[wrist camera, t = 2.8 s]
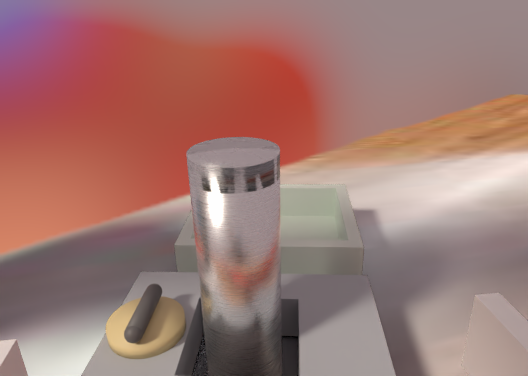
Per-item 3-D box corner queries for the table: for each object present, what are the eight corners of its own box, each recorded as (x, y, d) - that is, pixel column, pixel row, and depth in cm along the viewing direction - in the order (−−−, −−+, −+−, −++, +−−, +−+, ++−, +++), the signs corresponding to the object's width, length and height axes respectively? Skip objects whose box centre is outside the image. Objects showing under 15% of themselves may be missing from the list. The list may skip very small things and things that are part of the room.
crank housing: (68, 464, 21) (46, 390, 19) (146, 305, 32) (137, 248, 30) (405, 480, 20) (417, 403, 18) (364, 310, 31) (369, 251, 29)
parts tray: (179, 289, 33) (173, 245, 32) (207, 219, 44) (204, 183, 43) (360, 293, 33) (364, 247, 31) (343, 220, 44) (345, 184, 42)
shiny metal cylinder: (202, 402, 24) (176, 165, 18) (215, 345, 28) (197, 137, 22) (281, 405, 24) (278, 165, 18) (282, 346, 28) (280, 136, 22)
